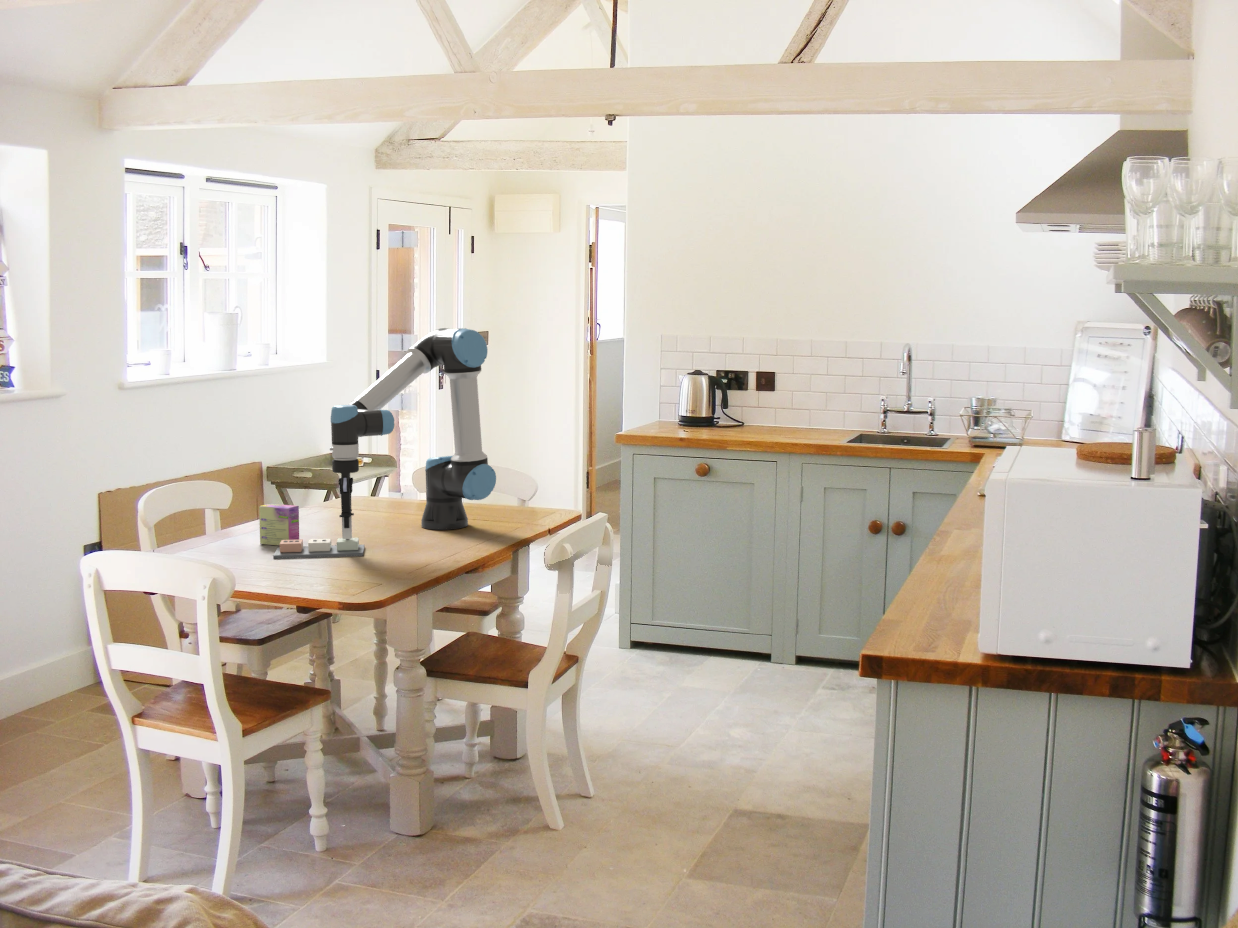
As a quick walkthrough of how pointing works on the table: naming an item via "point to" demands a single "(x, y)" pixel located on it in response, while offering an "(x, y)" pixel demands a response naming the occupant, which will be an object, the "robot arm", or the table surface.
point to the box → (278, 523)
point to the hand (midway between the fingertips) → (347, 538)
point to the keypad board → (319, 553)
